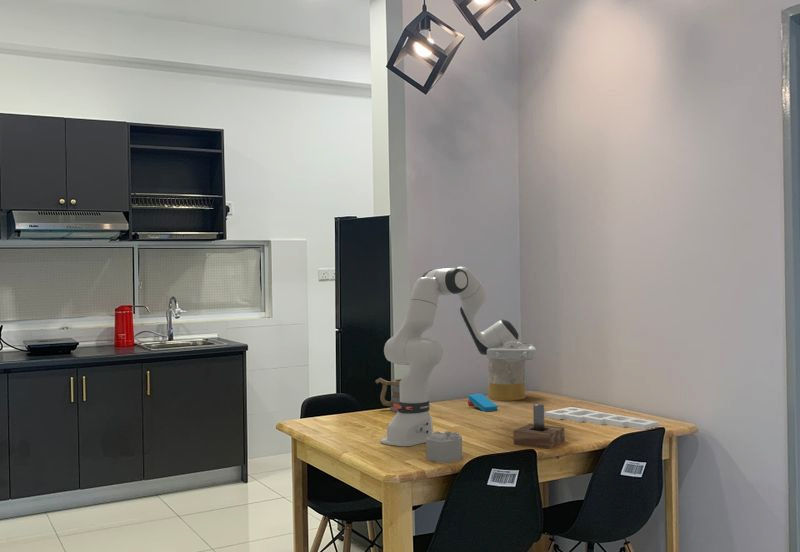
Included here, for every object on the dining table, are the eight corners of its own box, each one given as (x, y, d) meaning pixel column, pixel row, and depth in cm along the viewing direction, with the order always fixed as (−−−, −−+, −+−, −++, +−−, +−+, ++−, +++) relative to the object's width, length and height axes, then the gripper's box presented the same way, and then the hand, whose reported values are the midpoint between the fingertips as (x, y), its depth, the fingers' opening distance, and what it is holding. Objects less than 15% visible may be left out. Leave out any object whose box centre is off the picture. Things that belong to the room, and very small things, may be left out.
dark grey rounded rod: (542, 441, 275) (541, 405, 275) (532, 440, 277) (531, 405, 277) (546, 439, 278) (545, 404, 278) (536, 438, 281) (535, 403, 281)
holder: (658, 428, 300) (658, 421, 300) (630, 435, 289) (630, 428, 289) (572, 412, 336) (571, 406, 336) (544, 418, 326) (544, 411, 326)
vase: (505, 393, 390) (504, 335, 390) (532, 397, 376) (531, 336, 376) (481, 397, 378) (479, 337, 378) (508, 402, 364) (507, 339, 364)
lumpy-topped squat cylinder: (422, 459, 257) (421, 433, 257) (447, 452, 266) (446, 427, 266) (444, 464, 250) (444, 438, 250) (469, 456, 259) (469, 431, 259)
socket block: (549, 448, 268) (549, 434, 268) (513, 444, 276) (513, 430, 276) (564, 440, 279) (564, 427, 279) (530, 436, 287) (529, 423, 287)
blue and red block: (495, 419, 345) (475, 403, 361) (497, 406, 343) (477, 390, 359) (482, 421, 342) (462, 405, 358) (485, 407, 340) (464, 391, 356)
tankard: (420, 408, 353) (420, 376, 353) (414, 413, 341) (413, 380, 341) (380, 406, 359) (379, 375, 359) (372, 411, 347) (371, 379, 347)
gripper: (487, 344, 316) (484, 347, 303) (536, 344, 312) (536, 347, 299) (487, 359, 316) (485, 363, 303) (536, 359, 312) (536, 363, 299)
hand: (510, 355), depth 301 cm, fingers open, 8 cm apart
